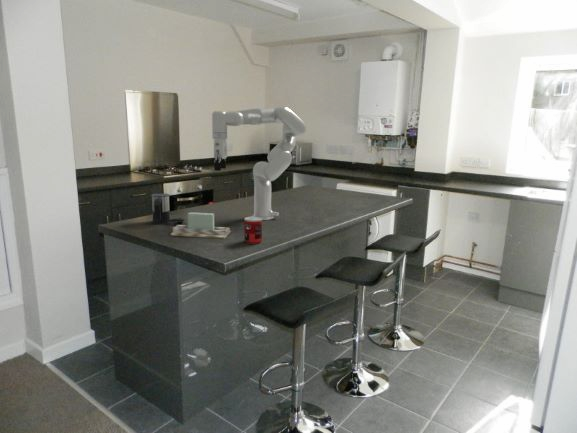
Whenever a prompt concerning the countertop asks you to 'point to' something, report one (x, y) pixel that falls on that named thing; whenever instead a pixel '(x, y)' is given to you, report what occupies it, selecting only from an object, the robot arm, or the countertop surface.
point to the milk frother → (162, 209)
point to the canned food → (252, 230)
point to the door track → (200, 232)
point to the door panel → (201, 221)
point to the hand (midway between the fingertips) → (220, 169)
